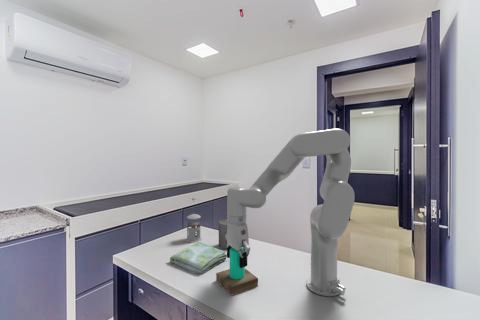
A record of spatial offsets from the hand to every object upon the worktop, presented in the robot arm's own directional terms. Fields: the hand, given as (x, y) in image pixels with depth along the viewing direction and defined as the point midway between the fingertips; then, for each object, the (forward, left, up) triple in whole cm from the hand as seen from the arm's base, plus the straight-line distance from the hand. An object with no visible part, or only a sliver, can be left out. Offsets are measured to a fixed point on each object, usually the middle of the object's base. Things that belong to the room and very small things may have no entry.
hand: (236, 261), depth 94 cm
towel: (+26, +5, -9) cm, 28 cm away
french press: (+54, -3, -9) cm, 55 cm away
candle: (0, 0, -6) cm, 6 cm away
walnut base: (0, 0, -8) cm, 8 cm away
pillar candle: (+35, -15, -9) cm, 39 cm away
